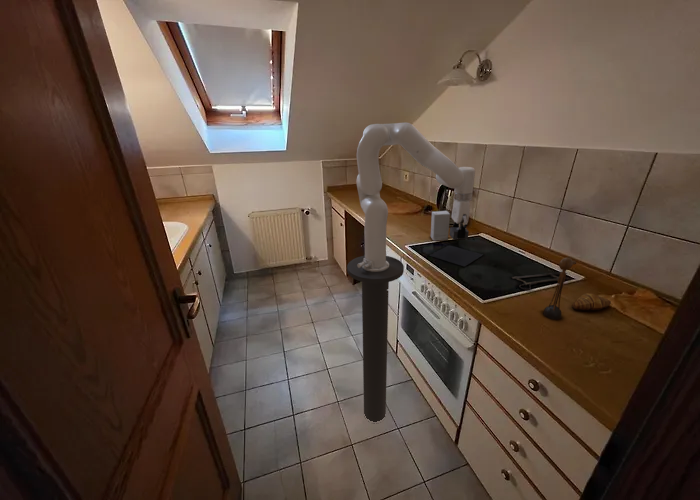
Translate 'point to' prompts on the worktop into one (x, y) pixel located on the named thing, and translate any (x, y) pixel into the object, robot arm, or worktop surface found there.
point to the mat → (456, 255)
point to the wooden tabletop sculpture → (558, 290)
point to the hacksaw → (538, 281)
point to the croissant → (590, 302)
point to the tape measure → (455, 232)
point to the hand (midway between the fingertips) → (458, 234)
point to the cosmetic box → (440, 225)
